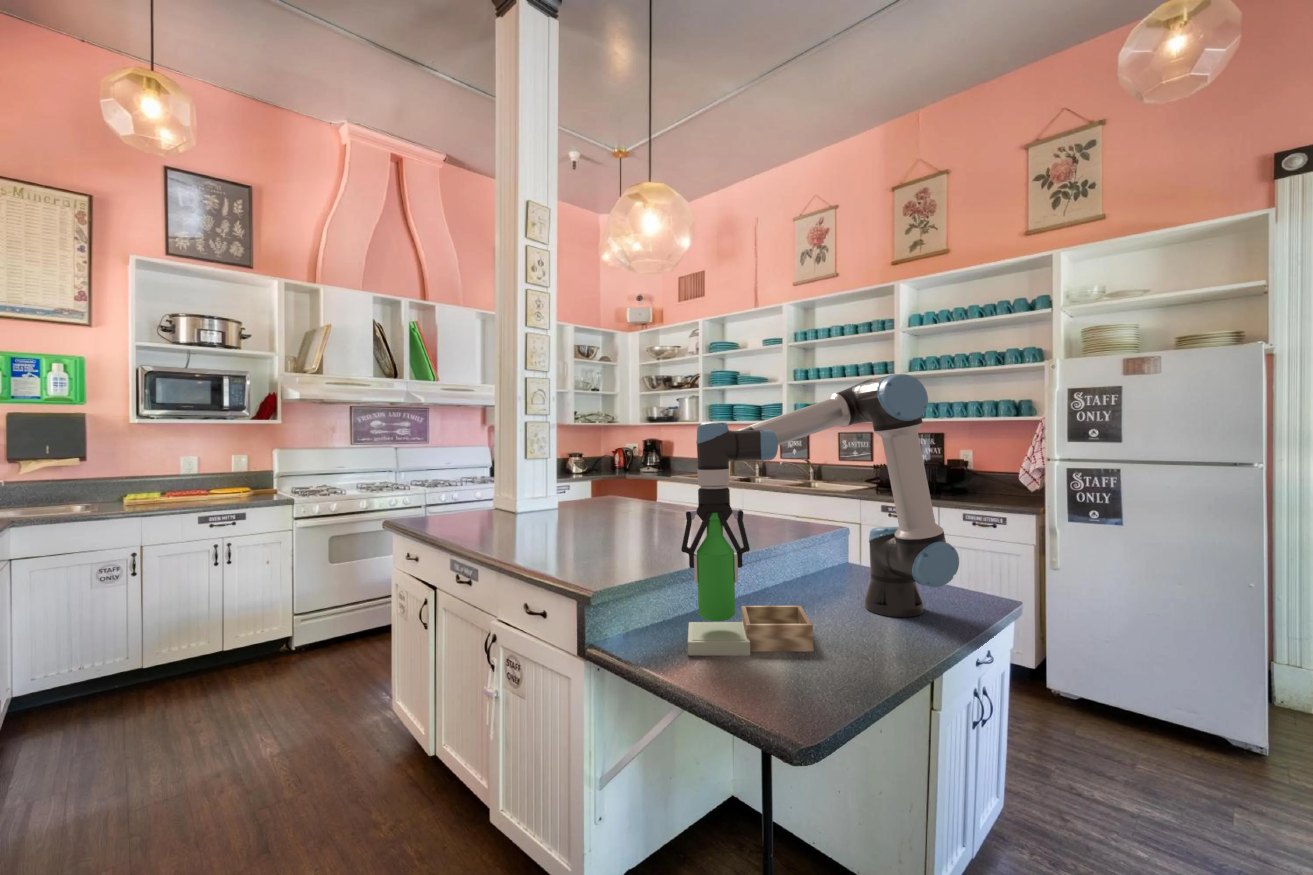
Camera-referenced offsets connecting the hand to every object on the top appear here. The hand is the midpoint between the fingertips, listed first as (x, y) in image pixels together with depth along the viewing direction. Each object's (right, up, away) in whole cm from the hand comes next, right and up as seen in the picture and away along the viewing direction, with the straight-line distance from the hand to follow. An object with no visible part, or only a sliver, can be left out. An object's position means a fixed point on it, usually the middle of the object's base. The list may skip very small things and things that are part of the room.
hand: (716, 581), depth 134 cm
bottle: (0, -9, 0) cm, 9 cm away
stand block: (0, -15, 0) cm, 15 cm away
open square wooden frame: (+15, -15, +2) cm, 21 cm away
